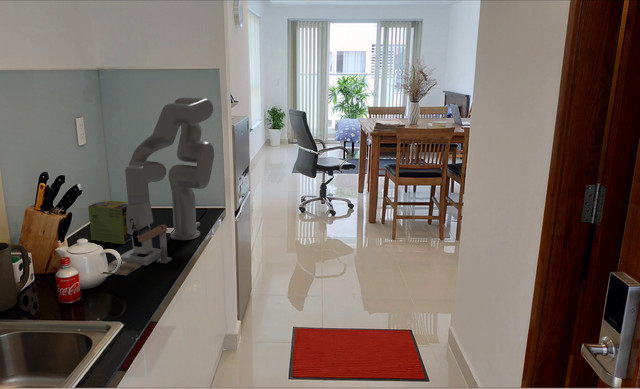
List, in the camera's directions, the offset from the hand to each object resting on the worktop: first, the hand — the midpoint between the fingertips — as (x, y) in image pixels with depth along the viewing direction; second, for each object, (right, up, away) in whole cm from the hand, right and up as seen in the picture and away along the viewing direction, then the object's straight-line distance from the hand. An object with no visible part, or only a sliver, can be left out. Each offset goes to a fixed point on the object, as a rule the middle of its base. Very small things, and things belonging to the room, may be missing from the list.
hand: (142, 243), depth 182 cm
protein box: (-20, 0, +21) cm, 29 cm away
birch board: (-4, -8, -10) cm, 13 cm away
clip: (+8, +4, -10) cm, 13 cm away
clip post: (+9, -7, -1) cm, 11 cm away
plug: (0, -3, +1) cm, 3 cm away
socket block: (0, -6, +1) cm, 6 cm away
